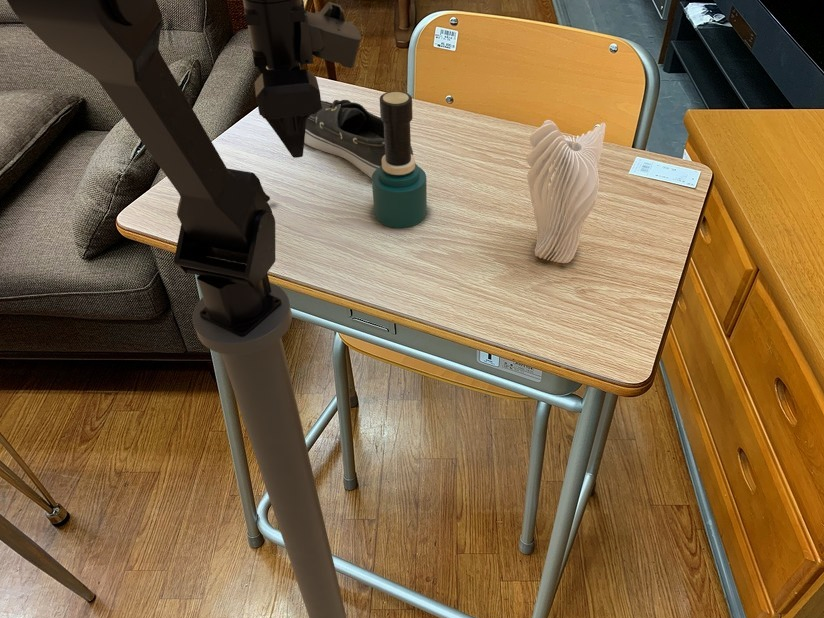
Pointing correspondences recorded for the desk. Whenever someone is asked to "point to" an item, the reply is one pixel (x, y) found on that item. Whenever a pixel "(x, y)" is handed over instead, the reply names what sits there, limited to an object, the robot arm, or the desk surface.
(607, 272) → the desk surface
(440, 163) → the desk surface
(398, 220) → the bottle
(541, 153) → the beige finned vase
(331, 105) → the boat shoe
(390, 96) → the flashlight
